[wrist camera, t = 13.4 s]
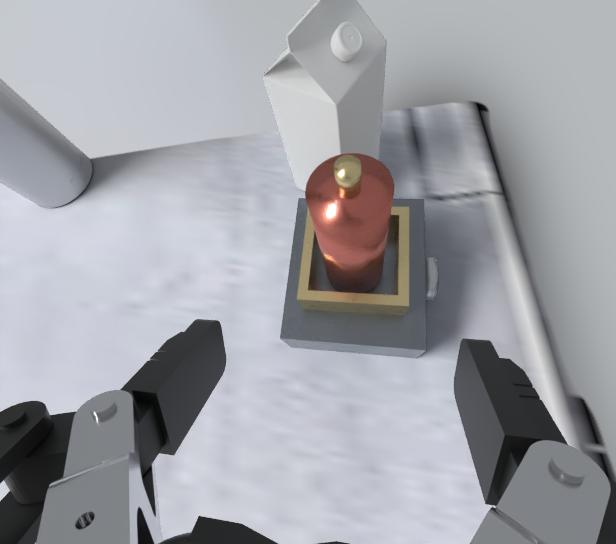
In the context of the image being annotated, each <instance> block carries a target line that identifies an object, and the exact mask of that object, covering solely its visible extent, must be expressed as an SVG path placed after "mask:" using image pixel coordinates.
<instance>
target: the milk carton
mask: <svg viewBox="0 0 616 544" xmlns="http://www.w3.org/2000/svg"><path fill="white" fill-rule="evenodd" d="M286 41H287V46H288V47H287V48H286V49H285V50H284V52H283V53H282V54H281V55H280V56H279V57H278V58H277V59H276V61H275V62H274V63H273V64H272V65H271V66H270V67H269V69H268V70H267V71H266V72H265V73H264V74H263V75H262V77H263V80H264V83H265V87H266V90H267V93H268V96H269V100H270V103H271V106H272V110H273V112H274V116H275V119H276V123H277V126H278V129H279V132H280V136H281V139H282V142H283V145H284V149H285V152H286V155H287V158H288V162H289V165H290V168H291V171H292V175H293V178H294V181H295V184H296V187H297V188H299V189H301V190H303V191H306V184H307V181H308V179H309V177H310V175H311V174H312V172H313V171H314V170H315V169H316V168H317V167H318V166H319V165H320V164H321V163H323V162H324V161H326V160H327V159H329V158H331V157H334V156H337V155H340V154H346V153H358V154H364V155H368V156H370V157H373V158H375V159H377V160H378V161H379V152H380V137H381V122H382V107H383V91H384V77H385V60H386V39H385V38H384V36H383V35H382V34H381V33H380V31H379V30H378V29H377V27H376V26H375V24H374V23H373V22H372V20H371V19H370V18H369V16H368V15H367V14H366V12H365V11H364V10H363V9H362V7H361V5H360V4H359V3H358V1H357V0H317V1H316V2H315V3H314V4H313V6H312V7H311V8H310V9H309V10H308V11H307V12H306V13H305V15H304V16H303V17H302V18H301V19H300V20H299V21H298V22H297V24H296V25H295V26H294V27H293V28H292V29H291V30H290V31H289V32H288V33H287V35H286Z"/></svg>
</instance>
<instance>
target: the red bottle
mask: <svg viewBox="0 0 616 544" xmlns="http://www.w3.org/2000/svg"><path fill="white" fill-rule="evenodd" d="M305 195H306V201H307V205H308V208H309V212H310V215H311V219H312V222H313V226H314V229H315V233H316V237H317V240H318V244H319V247H320V251H321V254H322V258H323V261H324V265H325V269H326V272H327V276H328V278H329V280H330V282H331V283H332V284H333V285H334V286H335V287H336V288H337V289H338V290H340V291H342V292H346V293H364V292H366V291H368V290H370V289H372V288H373V287H374V286H375V285H376V284H377V283H378V281H379V280H380V278H381V275H382V271H383V264H384V257H385V250H386V243H387V236H388V229H389V222H390V215H391V208H392V202H393V195H394V182H393V178H392V176H391V174H390V172H389V170H388V169H387V168H386V167H385V166H384V165H383V164H382V163H381V162H380V161H378V160H377V159H375V158H373V157H370V156H368V155H364V154H358V153H346V154H340V155H337V156H334V157H331V158H329V159H327V160H326V161H324V162H323V163H321V164H320V165H319V166H318V167H317V168H316V169H315V170H314V171H313V172H312V174H311V175H310V177H309V179H308V181H307V184H306V191H305Z"/></svg>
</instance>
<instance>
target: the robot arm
mask: <svg viewBox="0 0 616 544" xmlns="http://www.w3.org/2000/svg"><path fill="white" fill-rule="evenodd" d="M92 168H93V167H92V163H91V161H90V159H89V158H88V157H87V156H86V155H85V154H84V153H82V152H81V151H80V150H79V149H78V148H77V147H76V146H75V145H74V144H72V143H71V142H70V141H69V140H68V139H67V138H66V137H65V136H64V135H63V134H62V133H60V132H59V131H58V130H57V129H56V128H55V127H54V126H53V125H52V124H51V123H49V122H48V121H47V120H46V119H45V118H44V117H43V116H42V115H40V114H39V113H38V112H37V111H36V110H35V109H34V108H33V107H31V106H30V105H29V104H28V103H27V102H26V101H25V100H24V99H23V98H21V97H20V96H19V95H18V94H17V93H16V92H15V91H14V90H12V89H11V88H10V87H9V86H8V85H7V84H6V83H5V82H4V81H2V80H1V79H0V182H1V183H2V184H4V185H6V186H7V187H9V188H11V189H12V190H14V191H15V192H17V193H19V194H20V195H22V196H24V197H25V198H28V199H29V200H31V201H33V202H34V203H36V204H38V205H39V206H41V207H45V208H54V207H59V206H62V205H65V204H67V203H69V202H70V201H72V200H74V199H75V198H76V197H77V196H79V195H80V194H81V193H82V192H83V191H84V189H85V188H86V186H87V185H88V183H89V181H90V179H91V176H92ZM225 366H226V353H225V347H224V341H223V335H222V329H221V324H220V322H219V321H216V320H202V319H197V320H195V321H194V322H193V323H192V324H191V325H190V326H189V327H188V329H187V330H186V331H185V332H180V333H179V334H177V335H175V336H174V337H172V338H170V339H169V340H167V341H166V342H165V343H164V344H163V345H162V347H161V348H160V349H159V350H158V352H156V353H155V354H154V355H153V356H152V357H151V358H150V361H147V362H146V363H145V364H144V365H143V367H142V368H141V369H140V370H139V371H138V372H137V373H136V374H135V375H134V376H133V377H132V378H131V379H130V380H129V381H128V382H127V383H126V384H125V385H124V387H123V388H122V389H121V390H114V391H108V392H105V393H102V394H99V395H97V396H95V397H93V398H92V399H90V400H88V401H87V402H86V403H84V404H83V405H82V406H81V407H80V408H79V409H78V411H77V412H70V413H63V414H56V415H50V414H49V412H48V410H47V408H46V406H45V404H44V403H42V402H39V401H28V402H23V403H20V404H17V405H14V406H11V407H9V408H7V409H5V410H3V411H1V412H0V483H1V482H2V481H3V480H4V481H5V483H6V484H7V486H8V488H9V489H10V492H9V493H8V494H7V495H6V496H5V497H4V498H3V499H2V500H1V501H0V544H35V543H36V544H278V543H276V542H274V541H272V540H270V539H268V538H267V537H265V536H263V535H261V534H259V533H257V532H256V531H254V530H252V529H250V528H248V527H246V526H245V525H243V524H239V523H234V522H229V521H223V520H218V519H212V518H207V517H201V516H199V517H198V519H197V522H196V524H195V526H194V528H193V531H192V533H186V534H182V535H178V536H175V537H172V538H169V539H167V540H164V541H163V538H162V532H161V526H160V516H159V506H158V495H157V484H156V474H155V466H154V463H153V461H154V460H155V458H156V457H157V455H158V454H159V453H162V454H169V455H174V454H175V453H176V451H177V449H178V448H179V446H180V444H181V443H182V441H183V439H184V438H185V436H186V434H187V433H188V431H189V429H190V428H191V426H192V425H193V423H194V421H195V420H196V418H197V416H198V415H199V413H200V411H201V410H202V408H203V406H204V405H205V403H206V401H207V400H208V398H209V396H210V395H211V393H212V391H213V390H214V388H215V386H216V385H217V383H218V381H219V380H220V378H221V376H222V375H223V373H224V370H225ZM454 394H455V399H456V403H457V406H458V410H459V413H460V417H461V420H462V424H463V427H464V431H465V434H466V438H467V441H468V445H469V448H470V452H471V455H472V459H473V462H474V465H475V469H476V472H477V476H478V479H479V483H480V486H481V490H482V493H483V497H484V500H485V504H489V505H495V506H496V508H493V507H492V508H491V509H490V510H489V512H488V513H487V515H486V516H485V518H484V520H483V522H482V523H481V525H480V527H479V529H478V530H477V532H476V534H475V536H474V537H473V539H472V541H471V543H470V544H616V483H615V482H613V481H611V480H609V479H608V478H607V477H606V475H605V473H604V472H603V471H602V469H601V468H600V467H599V466H598V465H597V464H596V463H595V462H594V461H593V460H592V459H590V458H589V457H588V456H587V455H585V454H584V453H582V452H581V451H579V450H577V449H575V448H573V447H571V446H569V445H568V444H567V442H566V441H565V439H564V437H563V436H562V434H561V432H560V431H559V429H558V427H557V426H556V424H555V422H554V421H553V419H552V417H551V415H550V414H549V412H548V410H547V409H546V407H545V405H544V404H543V402H542V400H540V399H539V395H538V394H537V392H536V390H535V389H534V388H533V387H532V383H531V382H530V380H529V378H528V377H527V375H526V373H525V372H524V371H523V370H522V369H521V368H520V367H519V366H517V365H516V364H515V363H514V362H513V361H511V360H510V359H504V358H499V356H498V354H497V352H496V350H495V349H494V347H493V345H492V343H491V342H490V341H488V340H474V339H462V341H461V344H460V349H459V355H458V360H457V366H456V371H455V377H454ZM319 544H348V543H343V542H337V541H336V542H328V543H319Z"/></svg>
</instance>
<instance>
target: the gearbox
mask: <svg viewBox="0 0 616 544" xmlns="http://www.w3.org/2000/svg"><path fill="white" fill-rule="evenodd" d="M438 277H439V271H438V262H437V259H436V258H435V257H425V231H424V199H393V202H392V208H391V215H390V222H389V229H388V236H387V243H386V250H385V257H384V264H383V271H382V275H381V278H380V280H379V281H378V283H377V284H376V285H375V286H374V287H373V288H372V289H370V290H368V291H366V292H364V293H346V292H342V291H340V290H338V289H337V288H336V287H335V286H334V285H333V284H332V283H331V282H330V280H329V278H328V276H327V272H326V269H325V265H324V261H323V258H322V254H321V251H320V247H319V244H318V240H317V237H316V233H315V229H314V226H313V222H312V219H311V215H310V212H309V208H308V205H307V201H306V198H299V201H298V208H297V216H296V223H295V231H294V238H293V245H292V253H291V260H290V268H289V275H288V283H287V290H286V298H285V305H284V313H283V320H282V328H281V335H280V339H282V340H283V341H284V342H285V343H287V344H288V345H289V346H290V347H294V348H306V349H317V350H329V351H340V352H352V353H363V354H374V355H386V356H397V357H409V358H418V357H419V356H420V355H422V354H423V353H424V352H425V351H426V300H431V301H434V300H435V298H436V295H437V289H438Z"/></svg>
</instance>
